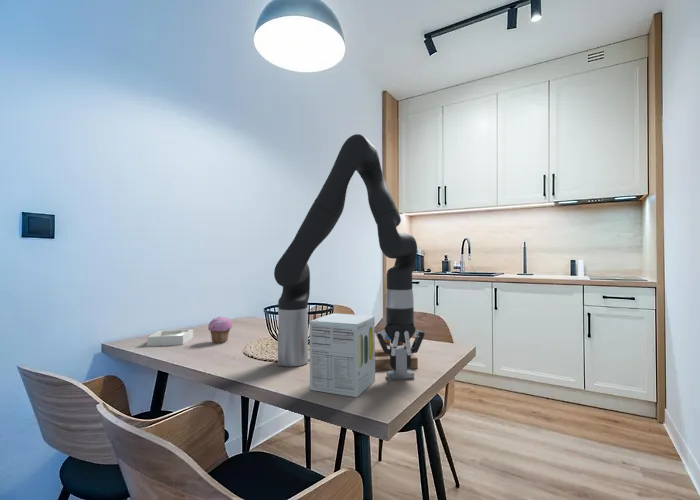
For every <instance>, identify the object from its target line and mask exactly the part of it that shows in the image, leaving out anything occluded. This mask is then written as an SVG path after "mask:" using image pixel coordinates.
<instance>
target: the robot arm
mask: <svg viewBox="0 0 700 500" xmlns="http://www.w3.org/2000/svg"><path fill="white" fill-rule="evenodd" d="M382 170H383V169H382V166H381V162H380V157H379V154H378V151H377V148H376V146H375V145H373V143H371V141H370V140H368V138H367V137H366V136H364V135H362V134H360V133H359V134H357V133H356V134H353V135H351V136H349V137H348V138H347V139H346V140H345V141H344V143H343V144H342V145H341V148H340V150H339V152H338V154H337V156H336V158H335V161H334V163H333V165H332V168H331V170H330V172H329V174H328V176H327V178H326V179H325V182H324V183H323V185H322V187H321V189H320V191H319V193H318V195H317V196H316V197H315V200H314V201H313V203H312V205H311V207H310V208H309V210H308V211H307V213H306V216H305V218H304V219H303V221H302V223H301V225H300V226H299V228H298V230H297V232H296V234H295V237H294V238H293V239H292V241H291V243H290V245H289V246H288V247H287V249H286V250H285V251H284V253H283V254H282V256H281V257H280V258H279V260H278V261H277V262H276V264H275V267H274V271H273V274H274V275H273V276H274V279H275V282H276V284H278V285H279V286H280V287H282V293H281V295H280V297H279V298H278V300H277V309H278V311H277V313H278V314H277V316H278V317H277V318H278V329H277V330H278V334H277V366H283V367H301V366H304V365H307V364H308V363H309V329H308V328H309V327H308V326H309V325H308V324H309V323H308V318H309V317H308V316H309V315H308V313H309V311H308V304H309V302H308V301H309V299H310V292H311V291H310V290H311V272H310V266H309V263H308V262H309V260H310V258H311V256H312V254H313V253H314V251H315V250H316V249H317V248H318V247H319V246H320V244H322V242H323V241H324V240H325V239H326V238H328V236H329V235H330V234H331V232H332V231H333V229H334V228H335V226H336V225H337V222H338V221H339V219H340V218H341V216H342V214H343V212H344V208H345V203H346V197H347V190H348V186H349V183H350V181H351V179H352V177H353V176H354V174H355V172H357V173H358V174H359V176H360V178H361V179H362V181H363V183H364V185H365V188H366V192H367V193H366V194H367V201H368V206H369V209H370V212H371V214H372V216H373V220H374V221H375V224H376V228H377V237H378V243H379V248H380V250H381V252H382V254H384V256H386V257H387V258H388V259H395V262H394V265H393V266H392V267H390V268H389V269H388V270H387V271H386V294H385V319H386V320H385V327H384V328H383V330H381V331H377V332H375V336H376V338H377V340H378V343H379V345H380V347H381V350H383V351H384V352H385V354H389V355H390V366H391V367H392V368H393V369H392V371H394V370H396V356H395V354H396V348H397V347H398V345H399V344H398V343H401V342H402V343H403V344H402V345H403V347H405V348H406V349H407V370H410V368H409V367H410V366H411V354H417V353H418V351H419V349H420V347H421V344H422V342H423V339H424V337H425V335H426V334H425V332H423V331H422V330H419V329H416V327H415V323H414V322H415V321H414V319H415V318H414V317H415V316H414V315H415V312H414V303H415V302H414V292H413V291H414V290H413V271H414V268H415V263H416V259H417V254H418V243H417V240H416V238H415V237H414V236H413V235H412V234H410V233H405V232H398V229H397V227H398V226H400V224H401V221H402V219H401V216H400V213H399V210H398V207H397V206H396V204H395V202H394V199H393V197H392V194H391V192H390V189H389V188H388V185H387V183H386V180H385V177H384V173H383V171H382ZM385 334H387V335H388V337H389V338H390V339H391V340H390V344H389V347H388V346H387V343H385V341H384V339H385ZM413 335H414V337H415V338H414V340H413V342H412V345H411V338H412V337H413Z"/></svg>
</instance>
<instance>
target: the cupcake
mask: <svg viewBox="0 0 700 500" xmlns="http://www.w3.org/2000/svg"><path fill="white" fill-rule="evenodd" d="M232 327H233V323H232V320H231V319H230V318H229V317H228V318H227V317H225V316H224V317H223V316H218V317H214V318H212V320H211V321H210V322H209V323H208V327H207V329H208V330H209V331H210V332H209V333H210V334H211V336H210V337H211V342H212V343H213V344H223V343H225V342H227V341H228V339H229V334H230V331H231V329H232Z"/></svg>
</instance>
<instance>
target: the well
mask: <svg viewBox="0 0 700 500" xmlns="http://www.w3.org/2000/svg"><path fill="white" fill-rule="evenodd" d="M418 364H419V363H418V357H417V356H416V354H415V353H413V354H411V366H410V367H409V369H418V366H419V365H418ZM384 370H385V371H388V370H393V368H392V367H391V366H390V355H389V354H385V352H384V351H383V349H375V371H384Z"/></svg>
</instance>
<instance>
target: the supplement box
mask: <svg viewBox="0 0 700 500" xmlns="http://www.w3.org/2000/svg"><path fill="white" fill-rule="evenodd" d="M375 317H376V316H375V315H370V314H369V315H367V314H366V315H365V314H354V313H353V314H352V313H351V314H350V313H334V312H333V313H332V312H331V313H330V314H327V315H323V316H320V317H318V318H314V319H312V320H309V390H310V391H317V392H321V393H328V394H334V395H339V396H340V395H341V396H347V397H353V398H358V397H359V396H360V395H361V394H362V393H363V392H364V391H366V389H367V388H369V387H370V386H371V385H372V384H373V383H374V382H375V381H376V370H375V350H376V345H375V344H376V342H375V341H376V340H375V338H376V337H375V336H376V332H375V329H376V328H375V327H376V326H375V324H376V323H375V320H376V319H375Z"/></svg>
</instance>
